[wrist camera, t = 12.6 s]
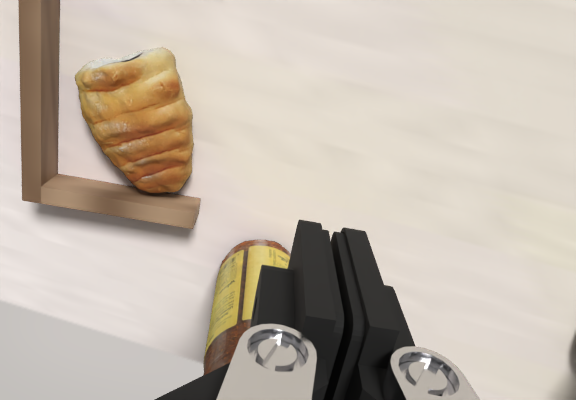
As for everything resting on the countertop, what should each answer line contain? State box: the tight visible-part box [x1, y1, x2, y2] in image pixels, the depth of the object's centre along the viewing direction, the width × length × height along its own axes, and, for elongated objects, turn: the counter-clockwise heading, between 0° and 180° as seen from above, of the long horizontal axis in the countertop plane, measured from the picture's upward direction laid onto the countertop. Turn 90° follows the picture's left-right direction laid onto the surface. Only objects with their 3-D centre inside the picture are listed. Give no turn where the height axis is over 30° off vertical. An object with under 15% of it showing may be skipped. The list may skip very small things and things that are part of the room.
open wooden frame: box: [19, 0, 200, 229], centre depth 30 cm, size 11×18×2 cm, turn 169°
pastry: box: [75, 47, 194, 193], centre depth 31 cm, size 9×7×4 cm
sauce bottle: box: [203, 240, 291, 376], centre depth 27 cm, size 7×6×20 cm
